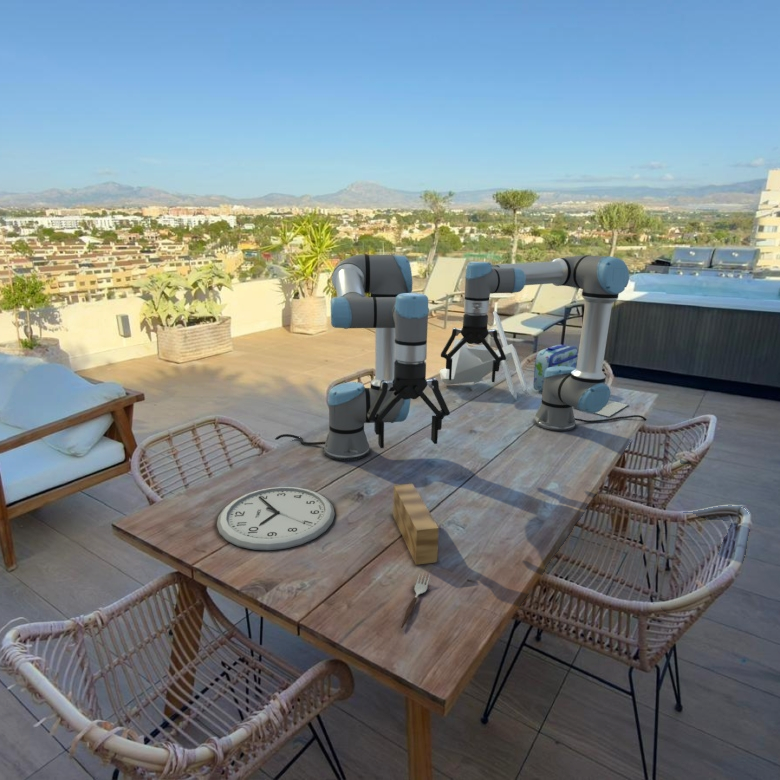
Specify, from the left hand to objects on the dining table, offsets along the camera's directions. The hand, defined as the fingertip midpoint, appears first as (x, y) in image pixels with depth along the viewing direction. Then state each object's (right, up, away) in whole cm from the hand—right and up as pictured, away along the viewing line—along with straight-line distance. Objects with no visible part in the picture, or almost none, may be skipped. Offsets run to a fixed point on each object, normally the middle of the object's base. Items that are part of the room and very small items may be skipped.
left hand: (407, 444), depth 129 cm
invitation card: (+87, +6, +97) cm, 131 cm away
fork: (0, -30, -23) cm, 38 cm away
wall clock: (-34, -20, +8) cm, 40 cm away
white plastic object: (+37, +12, +114) cm, 121 cm away
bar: (+1, -23, 0) cm, 23 cm away
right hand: (+22, +17, +38) cm, 46 cm away
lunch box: (+74, +14, +121) cm, 142 cm away
